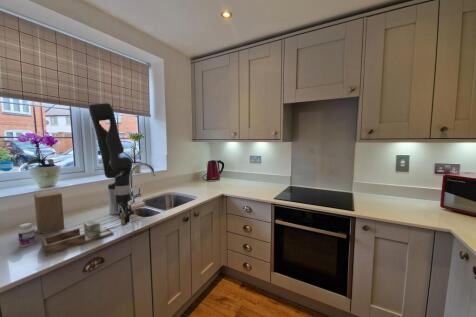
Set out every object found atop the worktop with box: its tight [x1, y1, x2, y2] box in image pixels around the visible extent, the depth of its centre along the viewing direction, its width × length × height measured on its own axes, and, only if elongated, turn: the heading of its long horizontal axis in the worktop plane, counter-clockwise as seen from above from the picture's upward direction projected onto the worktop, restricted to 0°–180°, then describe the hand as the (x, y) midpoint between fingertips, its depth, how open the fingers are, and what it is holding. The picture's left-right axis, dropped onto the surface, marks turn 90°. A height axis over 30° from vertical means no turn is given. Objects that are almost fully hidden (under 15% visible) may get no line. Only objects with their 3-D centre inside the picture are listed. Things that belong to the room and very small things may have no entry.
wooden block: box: [33, 190, 65, 235], centre depth 112 cm, size 10×10×20 cm
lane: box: [40, 226, 114, 257], centre depth 100 cm, size 26×11×4 cm, turn 140°
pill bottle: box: [18, 222, 37, 248], centre depth 96 cm, size 5×5×10 cm
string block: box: [83, 212, 128, 238], centre depth 109 cm, size 19×7×7 cm, turn 140°
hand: (124, 220), depth 115 cm, fingers open, 8 cm apart
